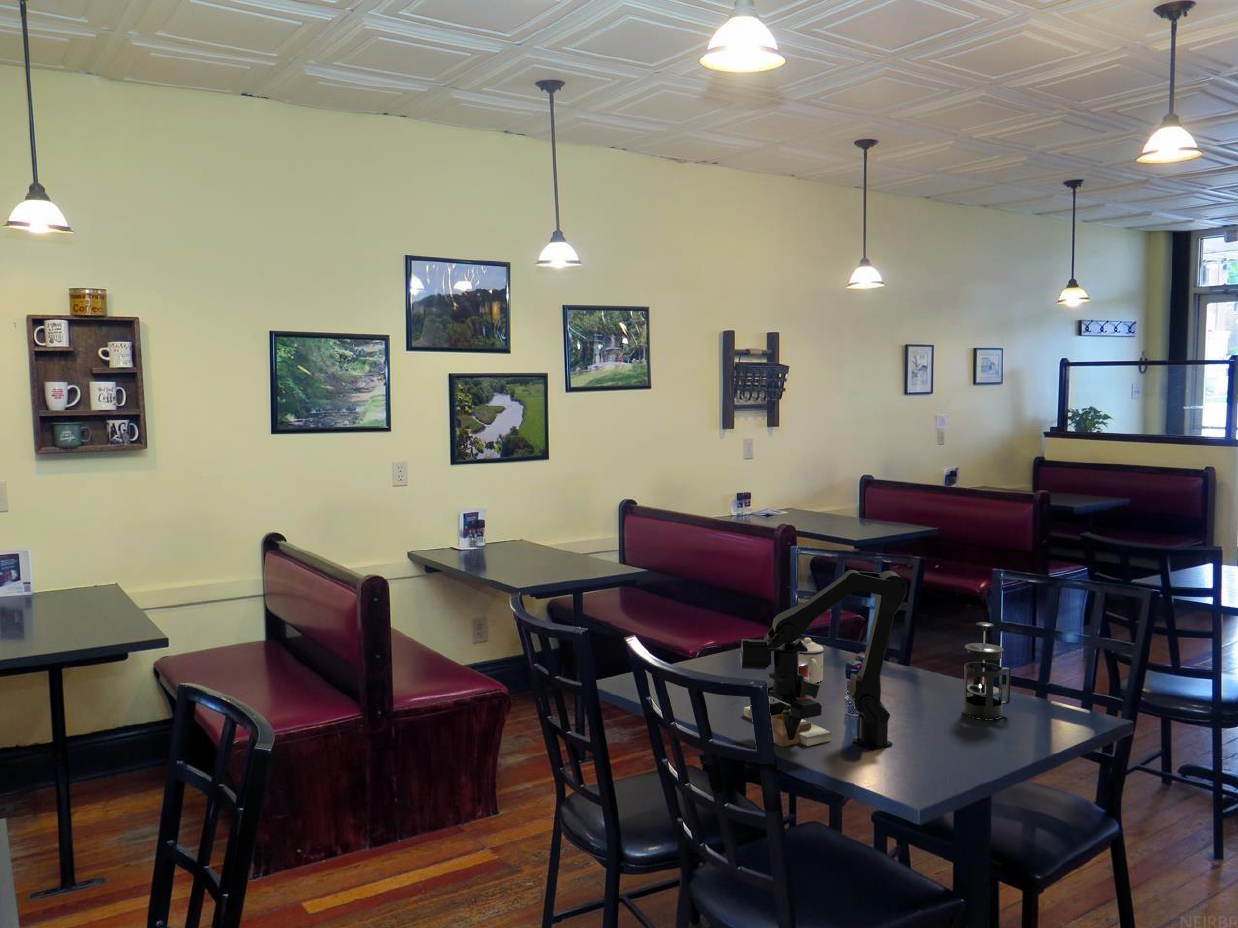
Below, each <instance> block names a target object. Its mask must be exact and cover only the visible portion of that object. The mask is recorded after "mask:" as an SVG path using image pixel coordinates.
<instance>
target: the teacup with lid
mask: <svg viewBox="0 0 1238 928" xmlns="http://www.w3.org/2000/svg"><path fill="white" fill-rule="evenodd" d="M801 641H802V640H801ZM802 643H803V644H804V645H806V647H807V649H808V651H807V652H799V659H800V660H804V661H806V662H807V663H808V664H809V681H810V682H812V683H815V684H818V683H817V682H819V683H821V682H822V681H823V679H824V652H825V649H824V647H823V645H820V644H817V643H816V642H814V641H812V639H811V638H810V637H805V638H803V641H802ZM820 681H821V682H820Z"/></svg>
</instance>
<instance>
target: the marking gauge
mask: <svg viewBox="0 0 1238 928" xmlns="http://www.w3.org/2000/svg"><path fill="white" fill-rule="evenodd" d="M771 721H772V727H773V733H774V738H775V743H776V744H775V743H774V744H775V745H777V746H779V747H782V746H783V747H788V746H793V745H798V744H800V742H799V736H800V731H802V730H807V729H811V723H812V722H811V721H808V720H805V721H804V722H800V724H799V726H798V729H797V732H796V734H795V737H794V739H793V740H789V738H788V735H787V730H786V726H785V721H784V717H783V712H782V714H777V715H772V716H771ZM792 744H793V745H792Z"/></svg>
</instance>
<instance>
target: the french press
mask: <svg viewBox="0 0 1238 928" xmlns="http://www.w3.org/2000/svg"><path fill="white" fill-rule="evenodd" d="M975 625H976V626H978V627H982V632H983V643H982V642H974V643H973V642H972V643H966V644H965V645H964V649H965V650H966V651H967V653H971V654H972V656H973V657H975V659H977V660H980V661H981V662H980V661H971V662H966V663H965V664H964V668H963V669H964V673H963V674H964V677H963V678H964V680H963V706H962V707H963V708H962V711H961V712H963V713H964V714H965V715H964V714H963V713H962V714H963V715H964V716H966V715H967V716H966V717H968V716H970V717H974V718H980V719H996V718H999V717H1002V715H1003V713H1002V712H1003V705H1009V704H1010V703H1011V702H1010V701H1011V672H1012V671H1011V670H1012V669H1010V668H1009V667H1007V666H1000V665H998V664H996V663H991V662H985V661H998V660H999V661H1000V660H1002V655H1003V652H1004V651H1005V650H1004V649H1005V648H1003V647H1002V646H1000V645H996V644H993V643H992V644H991V643H986V632H988V631H987V629H988V628H993V627H994V626H995V625H994V624H993V623H990V622H986V621H979V622H976V623H975ZM971 668H973V669H971ZM981 668H982V669H981ZM985 669H989V670H990V669H991V670H995V671H985ZM1004 671H1006V685H1005V694H1006V695H1005V700H1003V679H1004V678H1003V676H1004V675H1003V674H1004ZM968 674H969V675H971V676H972V677H973V678H972V679H973V680H972V681H973V682H972V684H968ZM981 677H982V683H981ZM994 678H998V687H997V686H994V682H995V681H994V680H995V679H994ZM985 680H986V681H985ZM968 693H969V694H972V695H968ZM996 696H998V698H994V697H996ZM970 717H969V718H970ZM974 718H973V719H974ZM1002 718H1003V717H1002Z"/></svg>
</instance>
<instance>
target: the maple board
mask: <svg viewBox="0 0 1238 928" xmlns="http://www.w3.org/2000/svg"><path fill="white" fill-rule="evenodd" d="M750 706H751V705H749V706H744V707H743V716H744V717H746V718H748V719H751V713H750ZM784 712H786V711H784ZM804 721H806V719H802V720H801V722H804ZM831 741H832V732H831V731H830V730H827V729H825V728H823V727H821V726H819V725H816V724H814V723H812V722H811V729H807V730H802V731H800V736H799V744H802V745H804V746H806V747H809V746H813V745H817V744H823V743H827V742H831Z"/></svg>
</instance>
